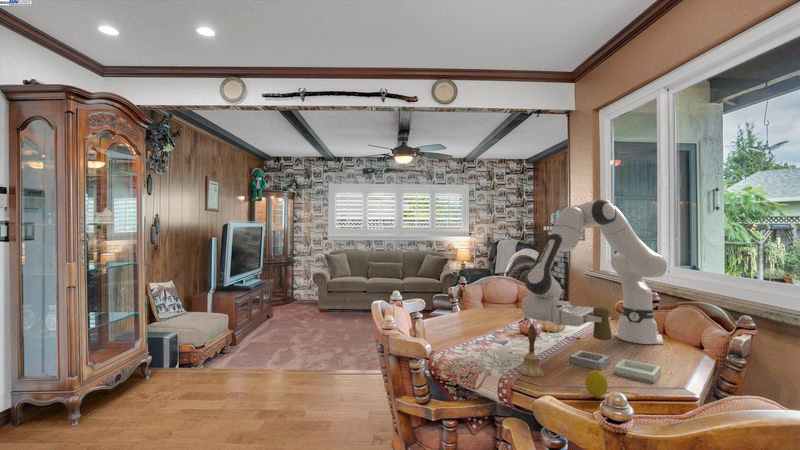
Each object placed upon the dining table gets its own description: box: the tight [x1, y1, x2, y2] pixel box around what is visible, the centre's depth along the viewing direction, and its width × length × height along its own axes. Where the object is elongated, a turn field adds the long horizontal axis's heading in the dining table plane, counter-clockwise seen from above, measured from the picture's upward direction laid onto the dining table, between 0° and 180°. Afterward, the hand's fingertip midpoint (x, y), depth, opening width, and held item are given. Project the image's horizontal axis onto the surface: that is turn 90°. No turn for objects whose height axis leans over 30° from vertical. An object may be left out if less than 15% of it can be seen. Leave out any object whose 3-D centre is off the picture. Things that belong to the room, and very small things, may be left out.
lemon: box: [585, 369, 608, 399], centre depth 108 cm, size 6×6×8 cm
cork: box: [592, 305, 613, 341], centre depth 136 cm, size 6×6×11 cm
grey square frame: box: [569, 349, 611, 371], centre depth 138 cm, size 10×10×2 cm
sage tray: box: [614, 358, 662, 384], centre depth 127 cm, size 11×11×2 cm
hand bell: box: [517, 323, 545, 378], centre depth 128 cm, size 8×8×16 cm
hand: (603, 318), depth 134 cm, fingers closed on cork, 3 cm apart
